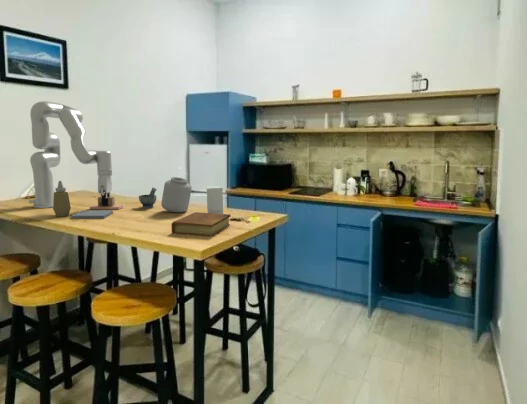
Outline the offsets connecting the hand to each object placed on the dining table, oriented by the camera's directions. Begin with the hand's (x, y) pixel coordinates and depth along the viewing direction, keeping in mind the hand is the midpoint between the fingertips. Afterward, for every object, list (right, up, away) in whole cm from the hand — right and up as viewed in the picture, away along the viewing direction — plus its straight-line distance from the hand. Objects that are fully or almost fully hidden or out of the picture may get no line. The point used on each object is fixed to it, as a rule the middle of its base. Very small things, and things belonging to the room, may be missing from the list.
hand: (106, 204), depth 222 cm
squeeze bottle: (-14, -6, -21) cm, 26 cm away
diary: (+62, -11, -46) cm, 78 cm away
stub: (0, -2, 0) cm, 2 cm away
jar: (+42, -4, -6) cm, 43 cm away
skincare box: (+64, -6, -17) cm, 67 cm away
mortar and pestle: (+23, -2, +6) cm, 23 cm away
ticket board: (+1, -6, -21) cm, 21 cm away
